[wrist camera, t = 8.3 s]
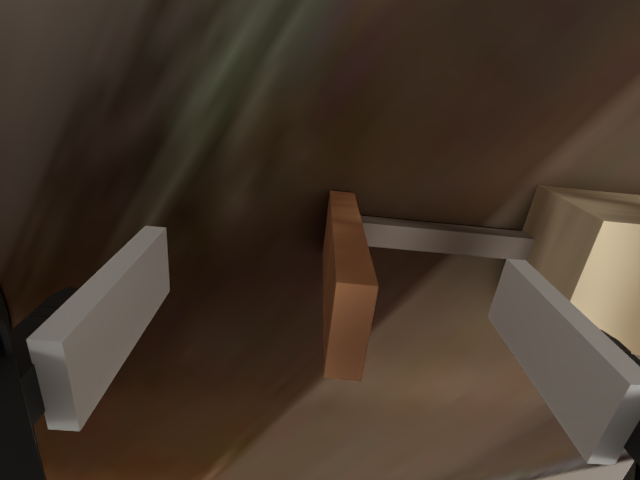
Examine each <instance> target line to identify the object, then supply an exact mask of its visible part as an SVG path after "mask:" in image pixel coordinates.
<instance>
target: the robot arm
mask: <svg viewBox="0 0 640 480" xmlns="http://www.w3.org/2000/svg"><path fill="white" fill-rule="evenodd" d="M169 291H170V283H169V266H168V249H167V232H166V228H165V227H154V226H145V227H143V228H142V229H141V230H140V231H139V232H138V233H137V234H136V235H135V236H134V237H133V238H132V239H131V240H130V241H129V242H128V243H127V244H126V245H125V246H124V247H123V248H121V249H120V250H119V251H118V252H117V253H116V254H115V255H114V256H113V257H112V258H111V259H110V260H109V261H108V262H107V263H106V264H105V265H104V266H103V267H102V268H100V269H99V270H98V271H97V272H96V273H95V274H94V275H93V276H92V277H91V278H90V279H89V280H88V281H87V282H86V283H85V284H84V285H83V286H82V287H81V288H74V287H68V288H66V289H64V290H61V291H59V292H57V293H55V294H53V295H51V296H50V297H49V298H48V299H47V300H45V301H44V302H43V303H42V304H41V305H40V306H39V308H38V309H37V308H36V309H35V310H34V311H33V312H32V313H31V314H29V317H28V318H27V317H26V318H25V319H24V320H23V321H22V322H20V323H19V324H18V325H17V326H16V327H15V328H14V329H12V330H11V331H10V323H9V317H8V312H7V308H6V305H5V302H4V299H3V297H2V294H1V292H0V480H46V477H45V473H44V469H43V465H42V461H41V457H40V453H39V448H38V444H37V440H36V436H35V432H34V429H33V426H34V424H35V423H36V422H37V421H38V419H39V418H40V417H41V415H42V414H43V413H44V414H45V418H46V422H47V426H48V429H51V430H67V431H81V429H82V427H83V426H84V424H85V423H86V421H87V420H88V418H89V416H90V415H91V413H92V412H93V410H94V409H95V407H96V406H97V404H98V402H99V401H100V399H101V398H102V396H103V395H104V393H105V391H106V390H107V388H108V387H109V385H110V384H111V382H112V381H113V379H114V377H115V376H116V374H117V373H118V371H119V370H120V368H121V366H122V365H123V363H124V362H125V360H126V359H127V357H128V356H129V354H130V352H131V351H132V349H133V348H134V346H135V345H136V343H137V341H138V340H139V338H140V337H141V335H142V334H143V332H144V331H145V329H146V327H147V326H148V324H149V323H150V321H151V320H152V318H153V316H154V315H155V313H156V312H157V310H158V309H159V307H160V306H161V304H162V302H163V301H164V299H165V298H166V296H167V295H168V293H169ZM487 317H488V319H489V320H490V322H491V323H492V325H493V326H494V328H495V329H496V331H497V332H498V333H499V335H500V336H501V338H502V339H503V341H504V342H505V344H506V345H507V347H508V348H509V350H510V351H511V353H512V354H513V356H514V357H515V358H516V360H517V361H518V363H519V364H520V366H521V367H522V369H523V370H524V372H525V373H526V375H527V376H528V378H529V379H530V381H531V382H532V383H533V385H534V386H535V388H536V389H537V391H538V392H539V394H540V395H541V397H542V398H543V400H544V401H545V403H546V404H547V406H548V407H549V408H550V410H551V411H552V413H553V414H554V416H555V417H556V419H557V420H558V422H559V423H560V425H561V426H562V428H563V429H564V431H565V432H566V433H567V435H568V436H569V438H570V439H571V441H572V442H573V444H574V445H575V447H576V448H577V450H578V451H579V453H580V454H581V455H582V457H583V458H584V460H585V461H586V463H590V464H606V465H615V463H616V461H617V460H618V458H619V456H620V455H621V453H622V451H623V450H624V448H625V450H626V451H627V452H628V453H629V455H630V456H631V457H632V458H633V460H634V463H633V464H632V466H631V468H630V469H629V471H628V472H627V474H626V476H625V477H624V479H623V480H640V359H638V358H637V357H636V356H635V355H634V354H631V351H630V350H629V349H627V348H626V347H625V346H624V345H623V344H622V343H621V342H620V341H619V340H617V339H616V338H614V337H612V336H611V335H609V334H607V333H606V332H604V331H603V330H600V329H599V328H598V327H597V326H596V325H595V324H593V323H592V322H591V321H590V320H589V319H588V318H587V317H586V316H585V315H584V314H583V313H582V312H581V311H580V310H578V309H577V308H576V307H575V306H574V305H573V304H572V303H571V302H570V301H569V300H568V299H567V298H566V297H565V296H563V295H562V294H561V293H560V292H559V291H558V290H557V289H556V288H555V287H554V286H553V285H552V284H551V283H550V282H548V281H547V280H546V279H545V278H544V277H543V276H542V275H541V274H540V273H539V272H538V271H537V270H536V269H535V268H533V267H532V266H531V265H530V264H529V263H528V262H527V261H526V260H518V259H506V262H505V265H504V268H503V271H502V274H501V277H500V280H499V283H498V286H497V289H496V292H495V295H494V298H493V301H492V304H491V307H490V310H489V313H488V316H487Z"/></svg>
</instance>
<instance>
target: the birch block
mask: <svg viewBox="0 0 640 480" xmlns="http://www.w3.org/2000/svg"><path fill="white" fill-rule="evenodd" d="M368 246H371V247H382V248H392V249H403V250H414V251H425V252H435V253H446V254H457V255H467V256H478V257H489V258H499V259H518V260H526V261H527V262H528V263H529V264H530V265H531V266H532V267H533V268H535V269H536V270H537V271H538V272H539V273H540V274H541V275H542V276H543V277H544V278H545V279H546V280H547V281H548V282H550V283H551V284H552V285H553V286H554V287H555V288H556V289H557V290H558V291H559V292H560V293H561V294H562V295H563V296H565V297H566V298H567V299H568V300H569V301H570V302H571V303H572V304H573V305H574V306H575V307H576V308H577V309H578V310H580V311H581V312H582V313H583V314H584V315H585V316H586V317H587V318H588V319H589V320H590V321H591V322H592V323H593V324H595V325H596V326H597V327H598V328H599V329H600V330H603V331H604V332H606V333H607V334H609V335H611V336H612V337H614V338H616V339H617V340H619V341H620V342H621V343H622V344H623V345H624V346H625V347H626V348H627V349H629V350H630V351H631V354H634V355H640V195H634V194H624V193H614V192H604V191H594V190H584V189H575V188H565V187H555V186H545V185H538V186H537V189H536V192H535V195H534V198H533V201H532V204H531V207H530V210H529V213H528V216H527V219H526V222H525V225H524V228H523V231H515V230H505V229H494V228H484V227H474V226H463V225H453V224H442V223H432V222H422V221H411V220H401V219H391V218H380V217H370V216H360V213H359V209H358V205H357V201H356V197H355V194H354V193H351V192H341V191H331V190H330V196H329V204H328V213H327V222H326V230H325V239H324V248H323V362H324V378H330V379H343V380H355V381H361V378H362V373H363V368H364V362H365V357H366V352H367V346H368V341H369V335H370V330H371V325H372V319H373V314H374V309H375V303H376V298H377V292H378V287H379V286H378V282H377V278H376V274H375V270H374V267H373V263H372V259H371V255H370V251H369V247H368Z"/></svg>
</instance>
